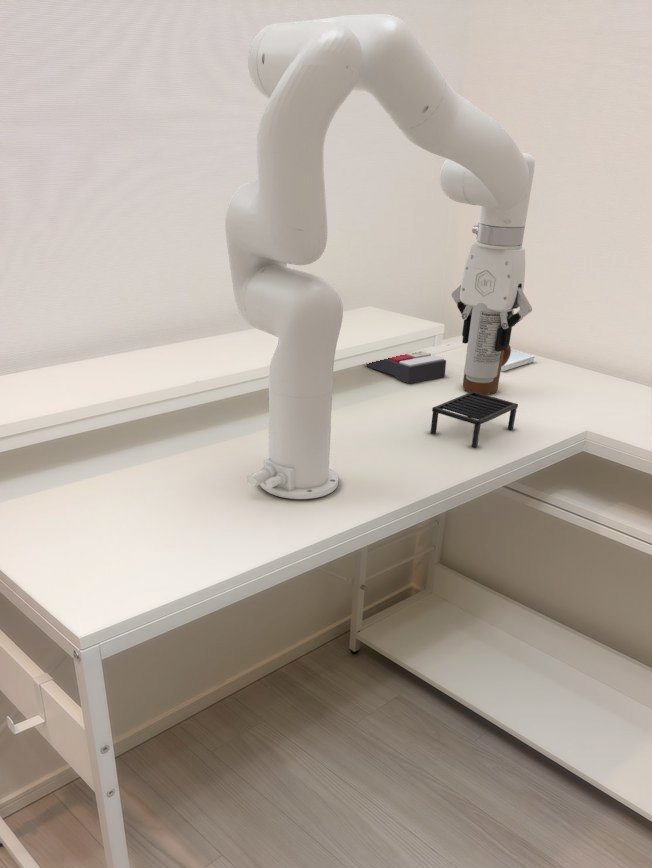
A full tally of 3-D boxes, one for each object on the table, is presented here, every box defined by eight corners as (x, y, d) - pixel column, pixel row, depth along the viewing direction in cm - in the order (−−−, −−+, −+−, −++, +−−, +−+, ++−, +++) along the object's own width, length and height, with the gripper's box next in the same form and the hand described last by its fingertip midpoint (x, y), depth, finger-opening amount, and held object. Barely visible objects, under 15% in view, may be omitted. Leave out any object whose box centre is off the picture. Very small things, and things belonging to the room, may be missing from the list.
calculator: (402, 343, 187) (447, 356, 177) (401, 362, 190) (445, 376, 179) (366, 349, 182) (410, 363, 171) (365, 368, 184) (408, 383, 174)
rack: (475, 448, 144) (479, 421, 142) (429, 433, 149) (432, 407, 147) (513, 429, 154) (518, 403, 151) (469, 415, 159) (473, 391, 156)
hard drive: (506, 348, 196) (476, 356, 189) (534, 355, 192) (505, 364, 184) (505, 355, 197) (475, 363, 190) (533, 362, 193) (504, 371, 185)
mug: (491, 378, 180) (497, 336, 175) (517, 388, 175) (525, 344, 170) (454, 387, 173) (460, 343, 168) (481, 397, 168) (488, 352, 163)
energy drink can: (491, 373, 149) (504, 289, 141) (500, 384, 144) (514, 296, 136) (459, 373, 148) (470, 288, 140) (467, 383, 143) (479, 296, 135)
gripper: (444, 231, 135) (432, 339, 145) (535, 246, 126) (516, 360, 136) (468, 227, 140) (455, 332, 150) (557, 242, 131) (537, 352, 141)
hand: (484, 345), depth 143 cm, fingers closed on energy drink can, 6 cm apart
